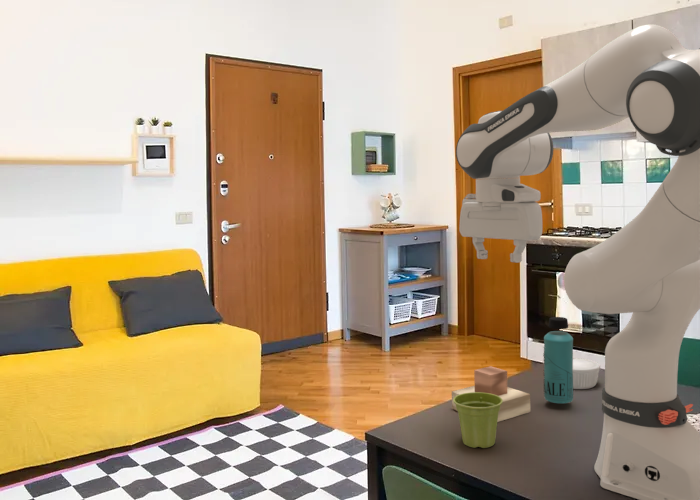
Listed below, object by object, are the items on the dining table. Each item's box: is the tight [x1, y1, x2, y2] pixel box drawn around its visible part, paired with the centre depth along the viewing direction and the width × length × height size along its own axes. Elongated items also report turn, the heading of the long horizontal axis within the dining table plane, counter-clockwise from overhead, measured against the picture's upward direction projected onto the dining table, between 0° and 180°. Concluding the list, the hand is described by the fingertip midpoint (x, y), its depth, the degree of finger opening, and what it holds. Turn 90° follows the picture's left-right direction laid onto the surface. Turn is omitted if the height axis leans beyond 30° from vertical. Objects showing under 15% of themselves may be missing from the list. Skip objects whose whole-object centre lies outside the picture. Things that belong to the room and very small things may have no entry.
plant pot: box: [453, 392, 503, 449], centre depth 125 cm, size 9×9×9 cm
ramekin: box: [573, 357, 601, 390], centre depth 160 cm, size 11×11×5 cm
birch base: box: [451, 385, 531, 423], centre depth 143 cm, size 12×12×4 cm
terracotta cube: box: [473, 365, 508, 396], centre depth 143 cm, size 5×5×5 cm
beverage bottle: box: [542, 316, 574, 404], centre depth 144 cm, size 6×7×20 cm
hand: (498, 260), depth 134 cm, fingers open, 8 cm apart
